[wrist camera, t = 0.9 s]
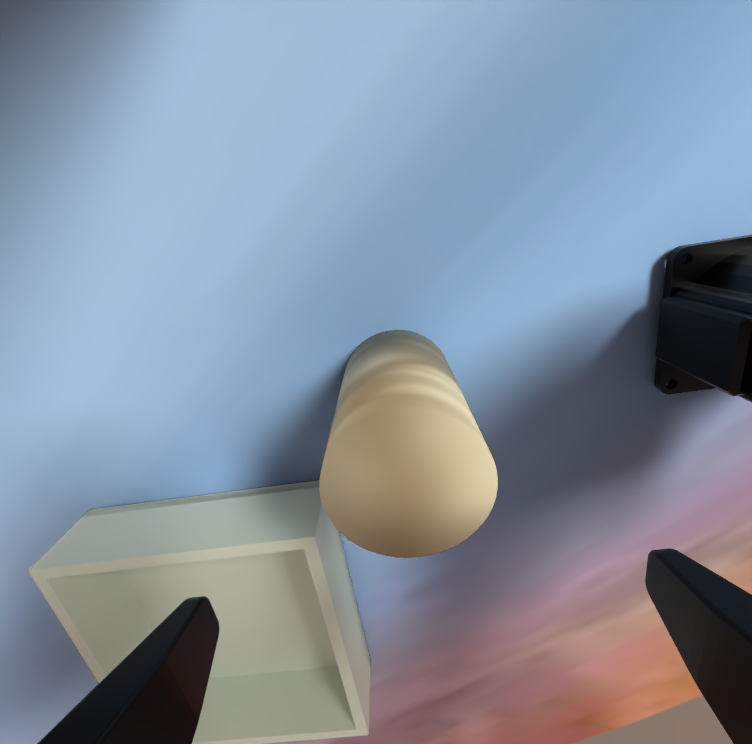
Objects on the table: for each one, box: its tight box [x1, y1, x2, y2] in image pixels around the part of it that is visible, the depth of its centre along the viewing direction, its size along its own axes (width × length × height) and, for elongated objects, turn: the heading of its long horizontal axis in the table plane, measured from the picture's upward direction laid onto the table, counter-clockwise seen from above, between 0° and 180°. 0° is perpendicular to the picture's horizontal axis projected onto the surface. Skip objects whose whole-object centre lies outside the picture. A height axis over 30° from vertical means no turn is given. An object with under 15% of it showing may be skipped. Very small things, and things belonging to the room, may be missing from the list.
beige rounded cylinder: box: [319, 330, 498, 558], centre depth 15 cm, size 5×5×8 cm
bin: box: [28, 480, 371, 744], centre depth 21 cm, size 13×14×4 cm
